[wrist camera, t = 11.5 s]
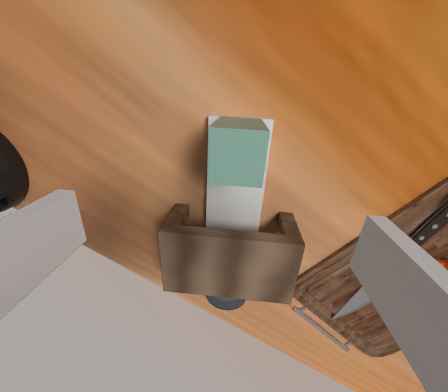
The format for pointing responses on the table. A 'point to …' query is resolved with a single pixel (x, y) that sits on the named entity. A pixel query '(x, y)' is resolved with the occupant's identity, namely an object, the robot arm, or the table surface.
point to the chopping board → (352, 289)
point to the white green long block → (236, 170)
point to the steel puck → (225, 302)
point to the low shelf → (230, 259)
